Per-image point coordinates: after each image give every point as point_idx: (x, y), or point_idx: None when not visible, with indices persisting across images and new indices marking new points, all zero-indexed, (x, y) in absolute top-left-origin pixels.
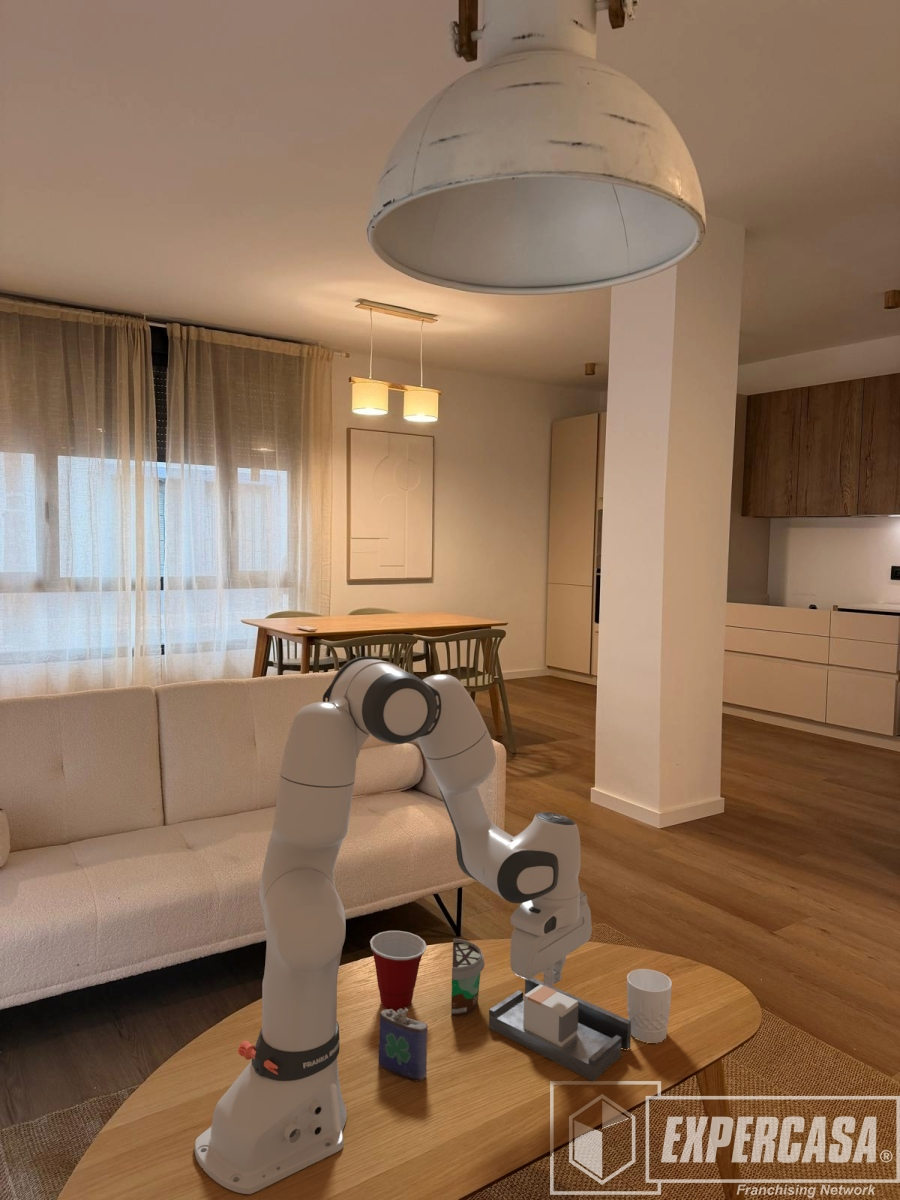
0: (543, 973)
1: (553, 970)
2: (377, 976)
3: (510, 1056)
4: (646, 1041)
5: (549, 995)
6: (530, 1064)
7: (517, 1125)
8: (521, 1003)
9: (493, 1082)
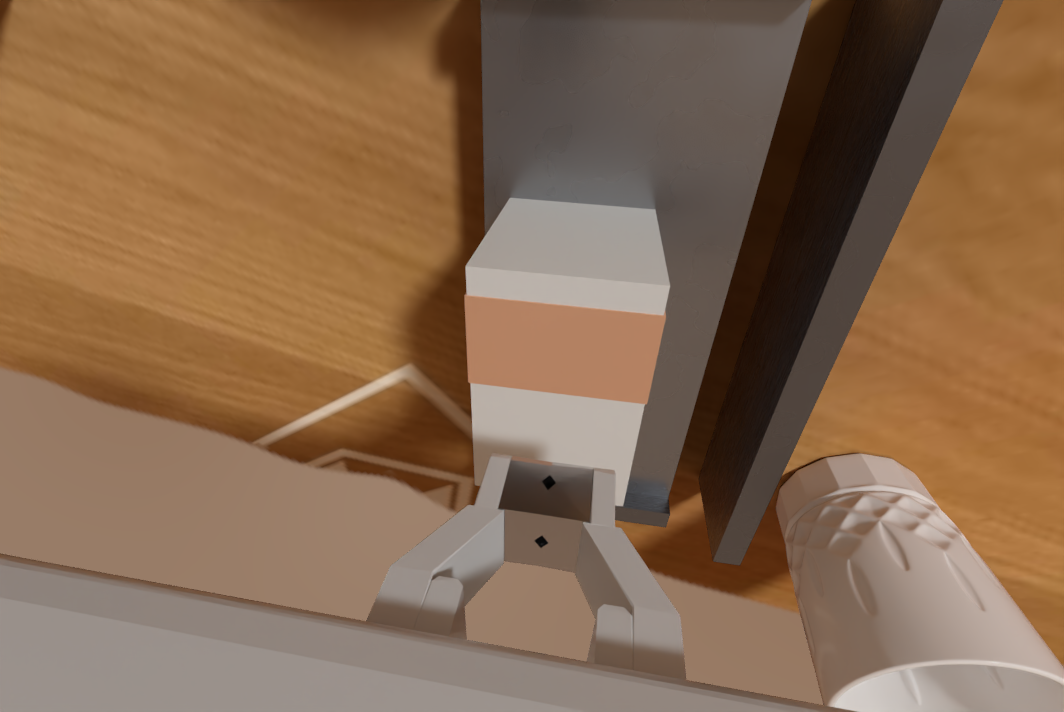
0: (460, 513)
1: (576, 537)
2: None
3: (405, 193)
4: (777, 514)
5: (570, 390)
6: (426, 279)
7: (209, 373)
8: (727, 37)
9: (253, 228)
